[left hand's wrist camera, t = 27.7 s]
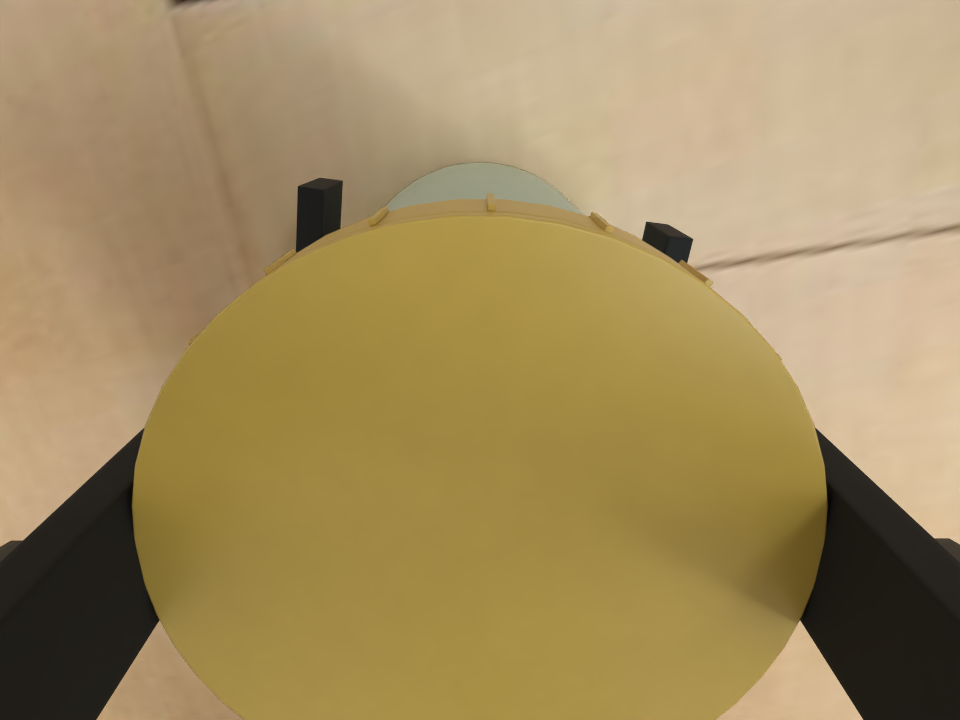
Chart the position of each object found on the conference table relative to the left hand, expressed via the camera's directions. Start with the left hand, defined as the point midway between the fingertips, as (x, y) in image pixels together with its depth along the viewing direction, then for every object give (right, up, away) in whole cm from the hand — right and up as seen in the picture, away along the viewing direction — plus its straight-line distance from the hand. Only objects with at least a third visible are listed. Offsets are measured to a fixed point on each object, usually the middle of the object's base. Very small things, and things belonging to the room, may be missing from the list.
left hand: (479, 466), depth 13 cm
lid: (0, -1, -3) cm, 3 cm away
